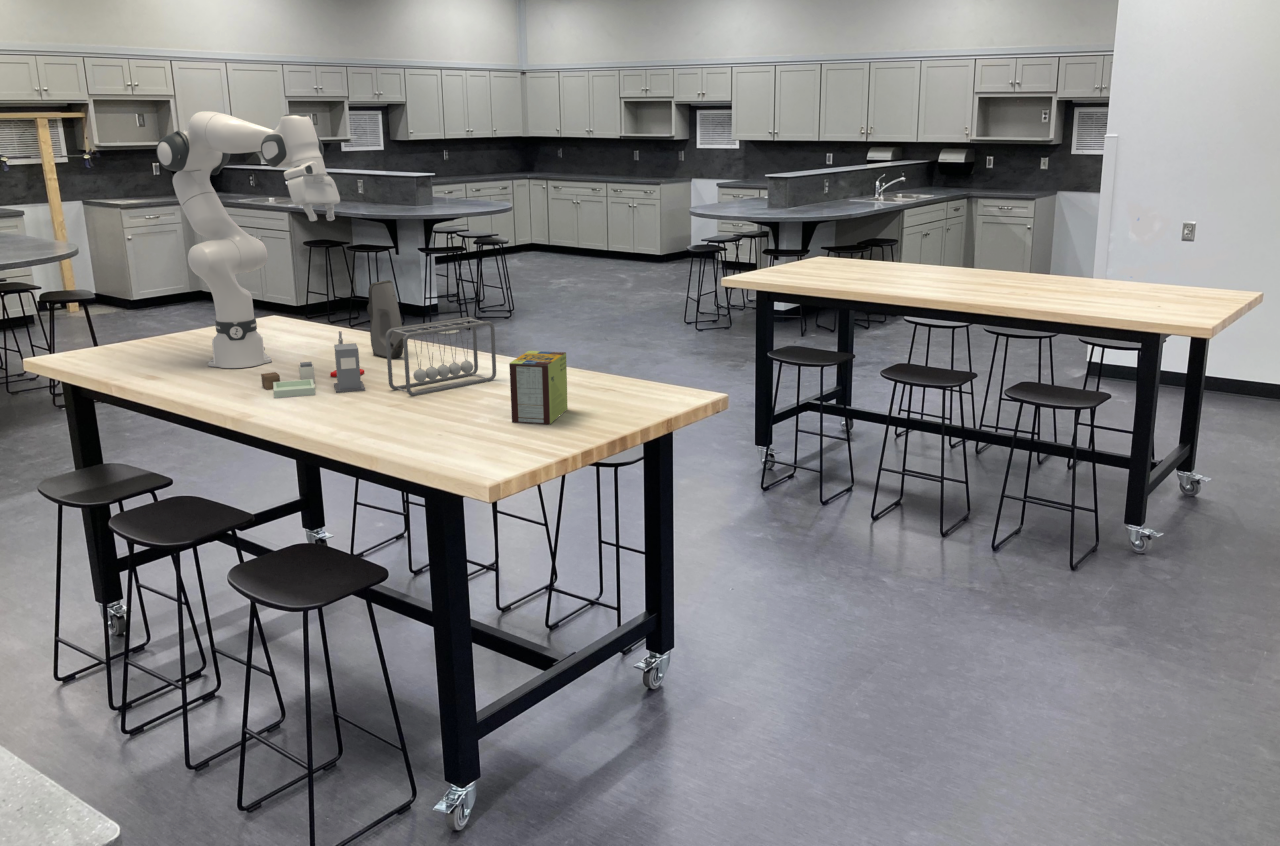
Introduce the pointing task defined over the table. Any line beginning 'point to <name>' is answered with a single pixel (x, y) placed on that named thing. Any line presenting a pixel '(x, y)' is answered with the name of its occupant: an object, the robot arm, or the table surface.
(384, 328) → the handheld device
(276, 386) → the tray
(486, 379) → the newton's cradle
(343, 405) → the table surface
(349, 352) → the control box
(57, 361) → the table surface
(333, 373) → the tow hook
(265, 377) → the walnut block
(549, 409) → the protein box
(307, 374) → the block
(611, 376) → the table surface
